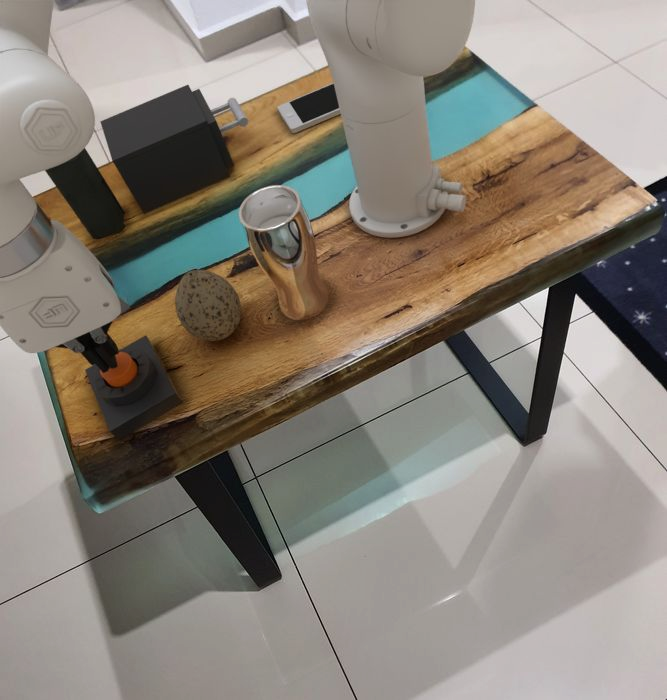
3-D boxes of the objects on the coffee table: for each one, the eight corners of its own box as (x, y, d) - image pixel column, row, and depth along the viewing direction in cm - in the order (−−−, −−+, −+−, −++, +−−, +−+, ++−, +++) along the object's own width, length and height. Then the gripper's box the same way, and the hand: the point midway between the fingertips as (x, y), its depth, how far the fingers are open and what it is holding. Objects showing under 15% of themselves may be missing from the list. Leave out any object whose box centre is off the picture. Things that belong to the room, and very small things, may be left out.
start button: (142, 376, 71) (135, 367, 70) (113, 393, 70) (105, 385, 69) (132, 355, 73) (125, 346, 72) (103, 371, 73) (95, 363, 71)
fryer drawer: (243, 122, 100) (226, 76, 94) (261, 154, 94) (245, 108, 88) (142, 165, 99) (118, 122, 93) (155, 200, 93) (130, 156, 87)
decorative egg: (237, 297, 80) (208, 240, 72) (259, 334, 76) (231, 278, 68) (185, 325, 79) (150, 270, 71) (205, 364, 75) (170, 311, 67)
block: (183, 402, 72) (168, 383, 69) (119, 440, 71) (101, 423, 68) (153, 345, 78) (139, 325, 75) (93, 379, 77) (76, 361, 74)
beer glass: (309, 332, 74) (272, 240, 63) (265, 310, 78) (222, 218, 66) (344, 290, 77) (316, 194, 65) (300, 271, 80) (265, 176, 68)
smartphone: (277, 111, 101) (276, 105, 101) (367, 73, 102) (366, 67, 101) (292, 134, 97) (290, 129, 96) (386, 95, 98) (385, 89, 97)
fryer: (211, 139, 101) (188, 84, 93) (230, 176, 94) (206, 120, 87) (130, 174, 100) (100, 121, 92) (143, 214, 93) (112, 160, 86)
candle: (92, 218, 95) (-16, 60, 76) (124, 207, 95) (26, 47, 75) (91, 241, 92) (-21, 83, 72) (125, 230, 92) (21, 69, 72)
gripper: (-79, 303, 52) (46, 416, 67) (95, 229, 53) (181, 356, 68) (-77, 246, 57) (40, 364, 71) (83, 179, 58) (166, 308, 72)
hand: (108, 360), depth 69 cm, fingers closed
